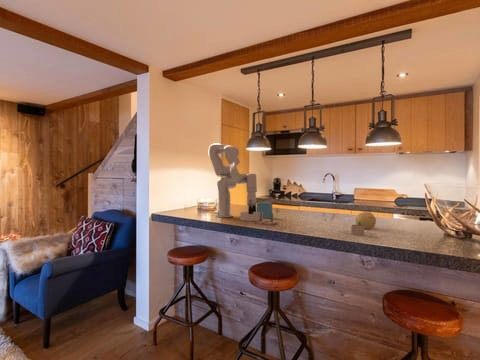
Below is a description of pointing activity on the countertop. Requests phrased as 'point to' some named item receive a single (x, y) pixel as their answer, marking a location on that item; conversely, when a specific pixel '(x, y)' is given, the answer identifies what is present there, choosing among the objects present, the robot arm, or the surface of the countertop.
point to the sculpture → (366, 220)
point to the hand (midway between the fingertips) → (252, 212)
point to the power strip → (250, 216)
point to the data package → (265, 209)
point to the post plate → (266, 221)
